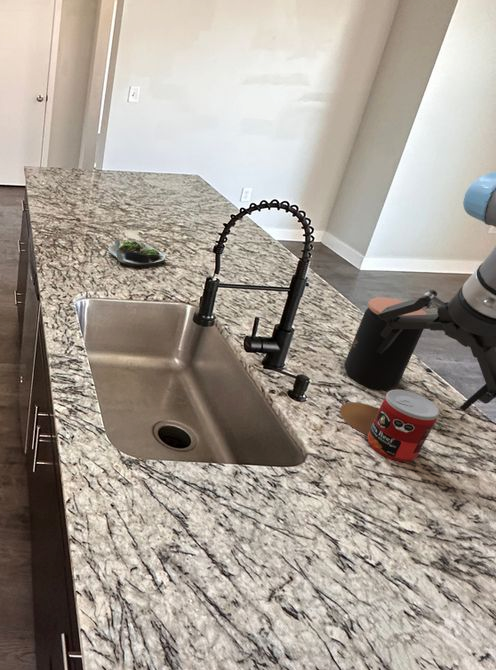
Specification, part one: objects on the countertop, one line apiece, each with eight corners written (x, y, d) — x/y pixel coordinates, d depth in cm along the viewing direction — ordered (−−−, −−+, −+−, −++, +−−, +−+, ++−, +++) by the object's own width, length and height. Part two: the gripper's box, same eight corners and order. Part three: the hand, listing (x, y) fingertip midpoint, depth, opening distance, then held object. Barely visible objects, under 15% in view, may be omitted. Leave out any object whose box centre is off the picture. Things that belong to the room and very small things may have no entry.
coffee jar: (365, 360, 129) (392, 294, 121) (409, 387, 120) (441, 318, 112) (331, 367, 126) (357, 300, 118) (374, 395, 117) (405, 325, 109)
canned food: (357, 432, 106) (377, 388, 101) (398, 434, 106) (420, 389, 101) (382, 462, 99) (404, 416, 94) (425, 464, 99) (450, 418, 94)
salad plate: (94, 246, 186) (96, 234, 184) (139, 242, 191) (141, 230, 189) (123, 270, 170) (125, 257, 168) (171, 264, 175) (174, 251, 173)
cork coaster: (398, 413, 111) (398, 413, 111) (408, 447, 103) (409, 447, 103) (337, 396, 116) (337, 396, 116) (342, 428, 107) (342, 427, 107)
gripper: (386, 263, 82) (339, 338, 98) (587, 378, 67) (492, 445, 83) (416, 239, 84) (365, 317, 100) (618, 345, 69) (520, 417, 84)
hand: (422, 375), depth 91 cm, fingers open, 13 cm apart
